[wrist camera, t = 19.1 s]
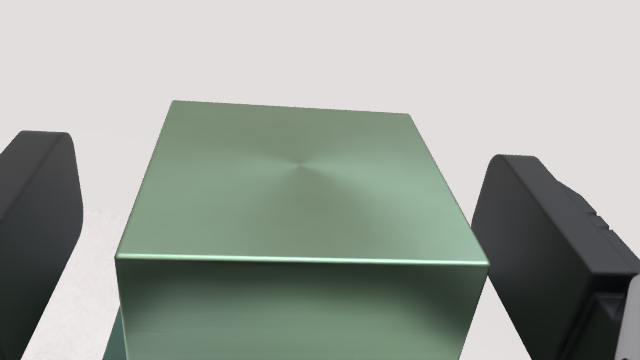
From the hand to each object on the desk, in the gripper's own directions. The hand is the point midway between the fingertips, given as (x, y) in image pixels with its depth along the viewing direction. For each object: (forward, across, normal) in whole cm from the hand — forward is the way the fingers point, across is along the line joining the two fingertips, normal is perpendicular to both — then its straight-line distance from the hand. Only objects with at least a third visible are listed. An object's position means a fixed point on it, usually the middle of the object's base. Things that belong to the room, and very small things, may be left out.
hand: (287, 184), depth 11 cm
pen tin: (-2, 0, +9) cm, 10 cm away
